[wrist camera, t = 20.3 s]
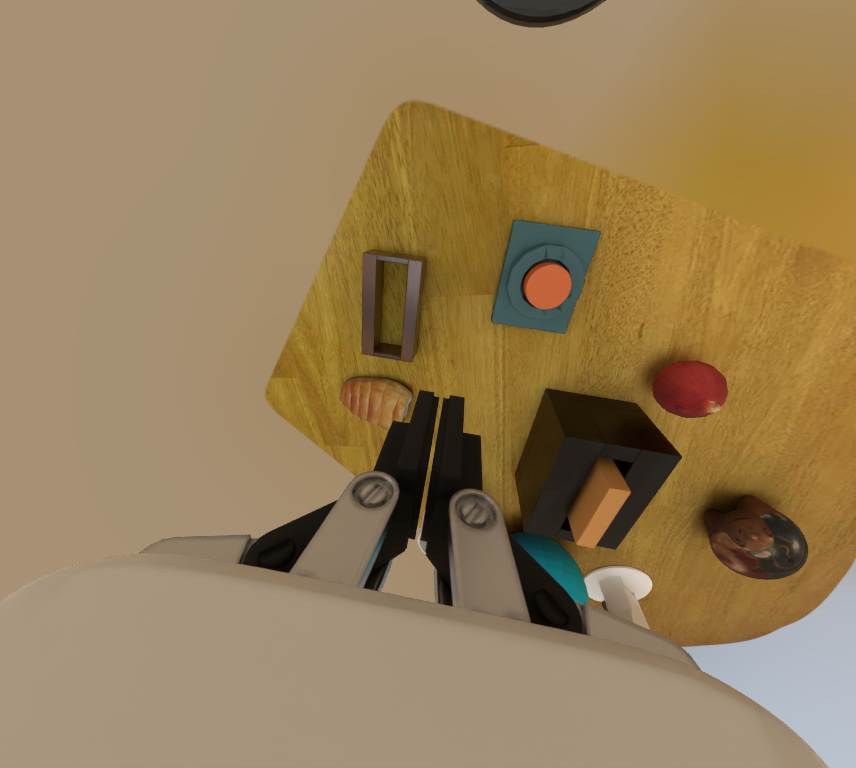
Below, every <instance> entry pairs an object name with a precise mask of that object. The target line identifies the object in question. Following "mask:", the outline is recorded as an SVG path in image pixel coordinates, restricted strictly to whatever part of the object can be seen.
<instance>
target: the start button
mask: <svg viewBox="0 0 856 768" xmlns="http://www.w3.org/2000/svg"><path fill="white" fill-rule="evenodd" d="M571 285H572V282H571V277H570V275H569V273H568V271H567V270H566V269H564V268H563V267H561V266H560V265H558V264H556V263H553V262H544V263H540V264H538V265H536V266H535V267H533V268H532V269H531V270H530V271H529V272H528V274H527V275H526V277H525V280H524V284H523V289H524V293H525V295H526V297H527V299H528V300H529V302H530V303H531V304H532V305H533V306H535V307H537V308H540V309H551V308H554V307H556V306H558V305H560V304H561V303H562V302H563V301H564V300H565V299H566V298H567V297H568V295H569V293H570V290H571Z"/></svg>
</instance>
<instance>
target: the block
mask: <svg viewBox="0 0 856 768" xmlns="http://www.w3.org/2000/svg"><path fill="white" fill-rule="evenodd" d="M600 235H601V232H600V231H593V230H585V229H578V228H571V227H563V226H556V225H549V224H541V223H534V222H527V221H519V220H513V224H512V229H511V233H510V238H509V242H508V246H507V251H506V255H505V260H504V264H503V268H502V273H501V277H500V282H499V286H498V290H497V295H496V299H495V304H494V308H493V312H492V317H491V322H492V323H498V324H505V325H511V326H518V327H524V328H531V329H537V330H544V331H550V332H557V333H563V334H565V332H566V329H567V326H568V323H569V321H570V318H571V315H572V312H573V310H574V307H575V304H576V301H577V300H578V299H579V296H580V293H581V291H582V288H583V285H584V282H585V276H586V274H587V271H588V268H589V265H590V262H591V260H592V257H593V254H594V251H595V249H596V246H597V243H598V240H599V238H600ZM544 262H553V263H556V264H558V265H560V266H561V267H563V268H564V269H566V270H567V271H568V273H569V275H570V277H571V282H572V285H571V290H570V293H569V295H568V297H567V298H566V299H565V300H564V301H563V302H562V303H561V304H560V305H558V306H556V307H554V308H551V309H540V308H537V307H535V306H533V305H532V304H531V303H530V302H529V300H528V299H527V297H526V295H525V293H524V289H523V284H524V280H525V277H526V275H527V274H528V272H529V271H530V270H531V269H532V268H533V267H535V266H536V265H538V264H540V263H544Z"/></svg>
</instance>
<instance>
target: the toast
mask: <svg viewBox="0 0 856 768" xmlns="http://www.w3.org/2000/svg"><path fill="white" fill-rule="evenodd" d="M630 493H631V491H630V489H629V487H628V485H627V484H626V482H625V480H624V478H623V477H622V475H621V473H620V471H619V470H618V468H617V466H616V464H615V463H614V461H613V459H609V458H603V457H598V459H597V460H596V462H595V464H594V466H593V468H592V470H591V472H590V474H589V475H588V477H587V479H586V481H585V483H584V485H583V487H582V489H581V491H580V492H579V494H578V496H577V498H576V500H575V502H574V504H573V506H572V507H571V509H570V511H569V513H568V515H567V517H568V520H569V524H570V527H571V530H572V533H573V536H574V540H575V543H576V545H579V546H585V547H590V548H595V546H596V545H597V543H598V542H599V540H600V539H601V537H602V536H603V534H604V533H605V531H606V530H607V528H608V527H609V525H610V524H611V522H612V521H613V519H614V517H615V516H616V514H617V513H618V511H619V510H620V508H621V507H622V505H623V504H624V502H625V501H626V499H627V498H628V496H629V495H630Z"/></svg>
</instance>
